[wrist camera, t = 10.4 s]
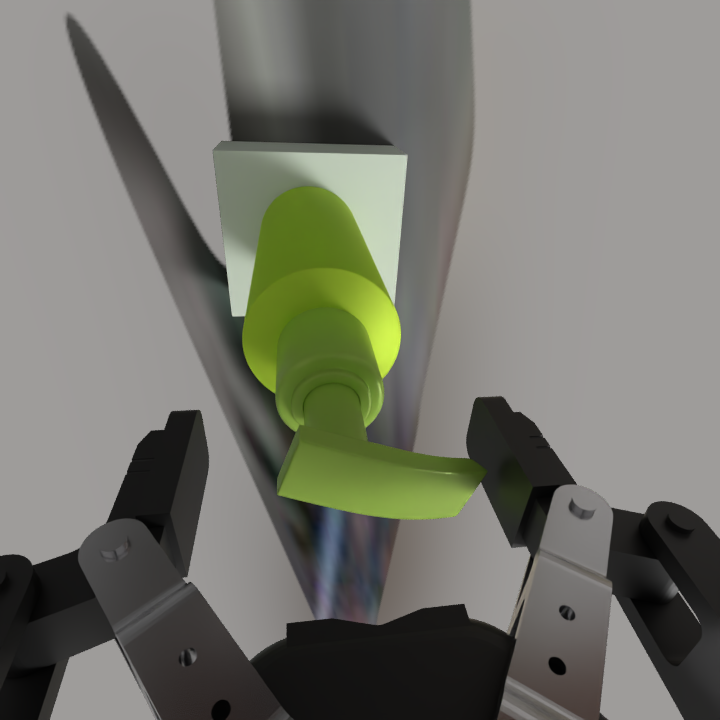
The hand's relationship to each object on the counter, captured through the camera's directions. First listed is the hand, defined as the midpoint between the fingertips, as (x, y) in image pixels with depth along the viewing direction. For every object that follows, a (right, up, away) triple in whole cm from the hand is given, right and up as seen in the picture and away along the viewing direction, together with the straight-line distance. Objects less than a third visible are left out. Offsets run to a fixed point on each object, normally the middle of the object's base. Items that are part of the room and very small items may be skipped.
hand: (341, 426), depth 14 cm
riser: (-3, +11, +18) cm, 22 cm away
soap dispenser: (-2, +9, +15) cm, 18 cm away
